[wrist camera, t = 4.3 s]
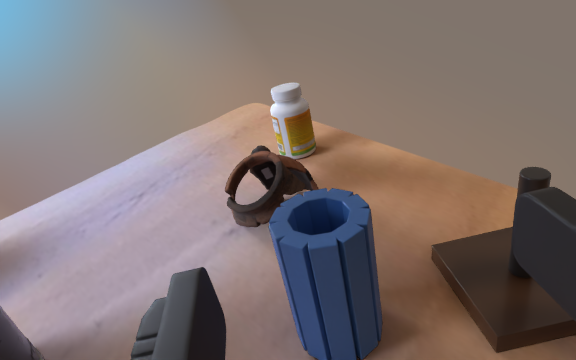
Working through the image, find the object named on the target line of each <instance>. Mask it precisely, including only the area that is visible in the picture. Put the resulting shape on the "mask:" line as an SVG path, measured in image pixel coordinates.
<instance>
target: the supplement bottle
mask: <svg viewBox="0 0 576 360" xmlns="http://www.w3.org/2000/svg"><path fill="white" fill-rule="evenodd" d="M271 94H272V99H273V101H275V103H274V104H273V105H272V107H271V110H270V112H271V117H272V121H273V126H274V130H275V134H276V139H277V143H278V147H279V151H280V155H284V156H288V157H291V158H293V159H299V158H303V157H306V156H309V155H310V154H312V153H313V152H314V151H315V149H316V143H315V138H314V132H313V126H312V121H311V115H310V109H309V105H308V102H307V101H306V100H305V99H304V98H301V97H300V96H301V88H300V84H299V83H286V84H282V85H278V86H276V87H274V88H272V89H271Z"/></svg>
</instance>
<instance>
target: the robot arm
mask: <svg viewBox="0 0 576 360" xmlns="http://www.w3.org/2000/svg"><path fill="white" fill-rule="evenodd" d="M511 245H512V251H513V254H514V256H515V258H516V260H517V262H518V263H519V265H520V266H521V267H522V268H523V269H524V270H525V271H526V272H527V273H528V274H529V275H530V276H531V277H532V278H533V279H534V280H535V281H536V282H537V283H538V284H539V285H540V286H541V287H542V288H543V289H544V290H545V291H546V292H547V293H548V294H549V295H550V296H551V297H552V298H553V299H554V300H555V301H556V302H557V303H558V304H559V305H560V306H561V307H562V308H563V309H564V310H565V311H566V312H567V313H568V314H569V315H570V316H571V317H572V318H573V319H574V320H575V321H576V199H574V198H572V197H571V196H569V195H568V194H566V193H565V192H563V191H562V190H560V189H558V188H555V187H548V188H544V189H540V190H536V191H531V192H527V193H523V194H520V195H519V196H518V197H517V199H516V203H515V212H514V221H513V231H512V240H511ZM225 349H226V324H225V318H224V314H223V310H222V307H221V305H220V302H219V300H218V298H217V295H216V293H215V290H214V288H213V285H212V283H211V280H210V278H209V275H208V273H207V271H206V269H205V268H204V267H201V268H197V269H193V270H188V271H184V272H180V273H175V274H173V275H172V278H171V281H170V285H169V289H168V294H167V297H165V298H161V299H156V300H155V301H154V302H153V304H152V305H151V306H150V308H149V309H148V311H147V312H146V313H145V315H144V316H143V318H142V320H141V323H140V326H139V330H138V333H137V336H136V342H135V343H134V346H133V350H132V353H131V360H225ZM0 360H45V359H44V357H43V356H42V355H41V353H40V352H39V351H38V350H37V349H36V348H35V347H34V346H33V345H32V343H31V342H30V341H29V340H28V339H27V338H26V337H25V336H24V335H23V334H22V332H21V331H20V330H19V329H18V327H17V326H16V325H15V324H14V322H13V321H12V320H11V319H10V317H9V316H8V315H7V314H6V312H5V311H4V310H3V309H2V307H1V306H0Z"/></svg>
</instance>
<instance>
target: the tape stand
mask: <svg viewBox="0 0 576 360" xmlns="http://www.w3.org/2000/svg"><path fill="white" fill-rule="evenodd" d="M550 179H551V173H550V172H549V171H548V170H546V169H543V168H539V167H528V168H524V169H522V170H521V172H520V175H519V183H518V192H517V197H518V196H519V195H520V194H523V193H527V192H531V191H536V190H540V189H544V188H548V187H549V185H550ZM512 231H513V227H510V228H505V229H501V230H497V231H492V232H488V233H483V234H479V235H475V236H470V237H466V238H461V239H457V240H453V241H448V242H444V243H439V244H435V245H432V260H433V261H434V263H435V264H436V266H437V267H438V269H439V270H440V272H441V273H442V275H443V276H444V277H445V279H446V280H447V282H448V283H449V285H450V286H451V288H452V289H453V291H454V292H455V293H456V295H457V296H458V298H459V299H460V301H461V302H462V304H463V305H464V307H465V308H466V309H467V311H468V312H469V314H470V315H471V317H472V318H473V320H474V321H475V323H476V324H477V325H478V327H479V328H480V330H481V331H482V333H483V334H484V336H485V337H486V339H487V340H488V341H489V343H490V344H491V346H492V347H493V349H494V350H495V352H501V351H505V350H509V349H514V348H518V347H523V346H527V345H531V344H536V343H540V342H544V341H549V340H553V339H557V338H562V337H566V336H571V335H575V334H576V321H575V320H574V319H573V318H572V317H571V316H570V315H569V314H568V313H567V312H566V311H565V310H564V309H563V308H562V307H561V306H560V305H559V304H558V303H557V302H556V301H555V300H554V299H553V298H552V297H551V296H550V295H549V294H548V293H547V292H546V291H545V290H544V289H543V288H542V287H541V286H540V285H539V284H538V283H537V282H536V281H535V280H534V279H533V278H532V277H531V276H530V275H529V274H528V273H527V272H526V271H525V270H524V269H523V268H522V267H521V266H520V265H519V263H518V262H517V260H516V258H515V256H514V254H513V251H512V245H511V240H512Z"/></svg>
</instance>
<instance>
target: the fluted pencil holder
mask: <svg viewBox="0 0 576 360" xmlns="http://www.w3.org/2000/svg"><path fill="white" fill-rule="evenodd" d="M280 206H281V207H277V208H276V210H275V212H274V213H273V215H272V217H271V219H270V221H269V224H270V225H269V230H270V233H271V237H272V241H273V245H274V248H275V252H276V256H277V259H278V263H279V267H280V270H281V274H282V278H283V281H284V285H285V289H286V292H287V296H288V300H289V303H290V307H291V311H292V314H293V318H294V322H295V325H296V329H297V333H298V336H299V338H300V340H301V342H302V345H303V347H304V349H305V351H306V350H308V354H309V355H311V356H313V357H315V358H317V359H319V360H331V359H332V360H357V357H356V355H357V356H358V357H359V358H360V359H363V358H364V357H366V356H367V355H368V354H369V353H370V352H371V351H372V350H373V349H374V348H375V347H377V346H378V341H380V340H381V332H382V323H383V322H382V313H381V303H380V294H379V284H378V275H377V265H376V256H375V246H374V237H373V227H372V217H371V209H369V205H368V204H367V203H366V202H365V201H364V200H363V199H362V198H361V197H360V196H359V195H358V194H355V195H353V192H350V191H345V190H339V189H334V188H332V189H331V190H330V191H329V192H328V191H327V189H326V188H324V189H319V190H313V191H307V192H304V196H302V195H300V194H297V195H295V196H294V197H292V198H290V199H288V200H287V201H285V202H283V203H281V204H280Z"/></svg>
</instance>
